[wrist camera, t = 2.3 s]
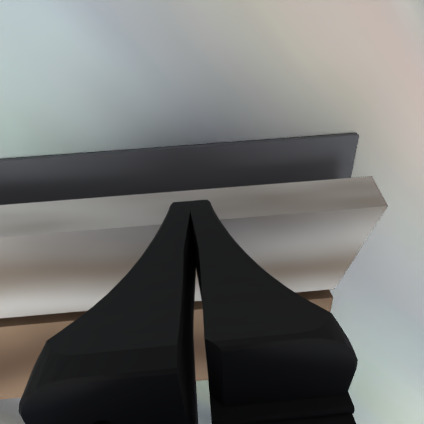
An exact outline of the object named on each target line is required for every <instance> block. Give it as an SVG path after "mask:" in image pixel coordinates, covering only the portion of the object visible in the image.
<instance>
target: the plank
mask: <svg viewBox="0 0 424 424" xmlns="http://www.w3.org/2000/svg"><path fill="white" fill-rule="evenodd" d="M194 200H208V201H210V202H211V205H212V207H213V209H214V211H215V213H216V215H217V216H218V218H219V220H220V221H221V223H222V224H223V225H224V227H225V228H226V230H227V231H228V232H229V234H230V235H231V236H232V237H233V239H234V240H235V241H236V242H237V243H238V245H239V246H240V247H241V248H242V249H243V250H244V251H245V252H246V253H247V254H248V255H249V256H250V257H251V258H252V259H253V260H254V261H255V262H256V263H257V264H258V265H259V266H260V267H262V268H263V269H264V270H265V271H266V272H267V273H269V274H270V275H271V276H273V277H274V278H275V279H277V280H278V281H279V282H281V283H282V284H283V285H285V286H286V287H287V288H289V289H290V290H292V291H294V292H306V291H317V290H329V289H335V288H336V286H337V285H338V283H339V282H340V280H341V278H342V277H343V275H344V274H345V272H346V271H347V269H348V268H349V266H350V264H351V263H352V261H353V260H354V258H355V257H356V255H357V253H358V252H359V250H360V249H361V247H362V246H363V244H364V243H365V241H366V239H367V238H368V236H369V235H370V233H371V232H372V230H373V229H374V227H375V225H376V224H377V222H378V221H379V219H380V218H381V216H382V215H383V213H384V211H385V210H386V208H387V207H388V205H387V203H386V202H385V200H384V198H383V196H382V194H381V192H380V190H379V189H378V187H377V185H376V183H375V181H374V179H373V177H372V176H369V177H356V178H343V179H330V180H317V181H304V182H291V183H279V184H266V185H253V186H240V187H227V188H214V189H201V190H188V191H175V192H163V193H150V194H137V195H124V196H111V197H98V198H85V199H72V200H60V201H47V202H34V203H21V204H8V205H0V318H10V317H22V316H33V315H45V314H56V313H67V312H79V311H88V310H89V309H90V308H92V307H93V306H94V305H95V304H96V303H98V302H99V301H100V300H101V299H102V298H103V297H104V296H106V295H107V294H108V293H109V292H110V291H111V290H112V289H113V288H114V287H115V286H116V285H117V284H118V283H119V282H120V281H121V279H122V278H123V277H124V276H125V275H126V274H127V273H128V272H129V271H130V270H131V268H132V267H133V266H134V265H135V264H136V262H137V261H138V260H139V258H140V257H141V256H142V254H143V253H144V252H145V250H146V249H147V247H148V246H149V244H150V243H151V241H152V240H153V238H154V237H155V235H156V233H157V232H158V230H159V228H160V226H161V225H162V223H163V221H164V219H165V217H166V215H167V213H168V210H169V208H170V205H171V204H172V203H173V202H182V201H194ZM195 301H202V300H201V294H200V288H199V282H198V277H197V271H196V280H195Z"/></svg>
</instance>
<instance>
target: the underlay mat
mask: <svg viewBox="0 0 424 424" xmlns="http://www.w3.org/2000/svg"><path fill="white" fill-rule="evenodd" d="M358 138H359V135H358V134H357V133H348V134H334V135H321V136H307V137H293V138H280V139H266V140H252V141H239V142H225V143H212V144H198V145H184V146H171V147H157V148H144V149H130V150H116V151H103V152H89V153H75V154H62V155H48V156H35V157H21V158H7V159H0V205H8V204H21V203H34V202H47V201H60V200H72V199H85V198H98V197H111V196H124V195H137V194H150V193H163V192H175V191H188V190H201V189H214V188H227V187H240V186H253V185H266V184H279V183H291V182H304V181H317V180H330V179H343V178H351V174H352V169H353V164H354V158H355V153H356V148H357V143H358Z"/></svg>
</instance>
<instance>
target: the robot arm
mask: <svg viewBox="0 0 424 424" xmlns="http://www.w3.org/2000/svg"><path fill="white" fill-rule="evenodd" d="M196 271H197V277H198V282H199V288H200V294H201V300H202V306H203V322H204V340H205V350H206V360H207V371H208V381H209V391H210V404H211V418H212V424H356V422H355V420H354V417H353V415H352V413H354V405H353V403H352V400H351V398H350V396H349V393H348V389H349V386H350V384H351V381H352V379H353V376H354V373H355V371H356V367H357V361H358V360H357V357H356V355H355V352H354V350H353V347H352V345H351V343H350V341H349V339H348V338H347V336H346V334H345V333H344V331H343V330H342V328H341V327H340V325H339V324H338V322H337V321H336V319H335V318H334V316H333V315H332V313H331V312H329V311H327V310H325V309H323V308H321V307H320V306H318V305H316V304H314V303H312V302H310V301H309V300H307V299H305V298H303V297H301V296H300V295H298V294H297V293H295V292H294V291H292V290H290V289H289V288H287V287H286V286H285V285H283V284H282V283H281V282H279V281H278V280H277V279H275V278H274V277H273V276H271V275H270V274H269V273H267V272H266V271H265V270H264V269H263V268H262V267H260V266H259V265H258V264H257V263H256V262H255V261H254V260H253V259H252V258H251V257H250V256H249V255H248V254H247V253H246V252H245V251H244V250H243V249H242V248H241V247H240V246H239V245H238V243H237V242H236V241H235V240H234V239H233V237H232V236H231V235H230V234H229V232H228V231H227V230H226V228H225V227H224V225H223V224H222V223H221V221H220V220H219V218H218V216H217V215H216V213H215V211H214V209H213V207H212V205H211V202H210V201H208V200H194V201H182V202H173V203H172V204H171V205H170V208H169V210H168V213H167V215H166V217H165V219H164V221H163V223H162V225H161V226H160V228H159V230H158V232H157V233H156V235H155V237H154V238H153V240H152V241H151V243H150V244H149V246H148V247H147V249H146V250H145V252H144V253H143V254H142V256H141V257H140V258H139V260H138V261H137V262H136V264H135V265H134V266H133V267H132V268H131V270H130V271H129V272H128V273H127V274H126V275H125V276H124V277H123V278H122V279H121V281H120V282H119V283H118V284H117V285H116V286H115V287H114V288H113V289H112V290H111V291H110V292H109V293H108V294H107V295H106V296H104V297H103V298H102V299H101V300H100V301H99V302H98V303H96V304H95V305H94V306H93V307H92V308H90V309H89V310H88V311H87V312H86V313H84V314H83V315H82V316H80V317H79V318H78V319H76V320H75V321H74V322H72V323H71V324H69V325H68V326H67V327H65V328H64V329H62V330H61V331H60V332H58V333H57V334H56V335H54V336H53V337H51V338H50V339H48V340H47V341H46V343H45V345H44V347H43V349H42V351H41V353H40V355H39V357H38V358H37V361H36V363H35V365H34V367H33V369H32V372H31V375H30V377H29V380H28V382H27V385H26V387H25V390H24V393H23V395H22V398H21V400H20V403H19V413H20V415H21V417H22V419H23V421H24V422H25V424H198V411H197V393H196V374H195V354H194V334H193V329H194V301H195V280H196Z"/></svg>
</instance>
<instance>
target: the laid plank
mask: <svg viewBox="0 0 424 424" xmlns="http://www.w3.org/2000/svg"><path fill="white" fill-rule="evenodd" d="M295 293H297V294H298V295H300V296H301V297H303V298H305V299H307V300H309V301H310V302H312V303H314V304H316V305H318V306H320V307H321V308H323V309H325V310H327V311H329V312H330V310H331V306H332V301H333V296H332V294H331V293H330V291H329V290H317V291H306V292H295ZM86 312H87V311H79V312H67V313H56V314H45V315H33V316H22V317H10V318H0V399H9V398H20V397H22V395H23V393H24V390H25V387H26V385H27V382H28V380H29V377H30V375H31V372H32V369H33V367H34V365H35V363H36V361H37V358H38V357H39V355H40V353H41V351H42V349H43V347H44V345H45V343H46V341H47V340H48V339H50V338H51V337H53V336H54V335H56V334H57V333H58V332H60V331H61V330H62V329H64V328H65V327H67V326H68V325H69V324H71V323H72V322H74V321H75V320H76V319H78V318H79V317H80V316H82V315H83V314H84V313H86ZM193 334H194V354H195V374H196V381H198V380H208V371H207V360H206V350H205V340H204V322H203V306H202V301H194V329H193Z"/></svg>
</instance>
